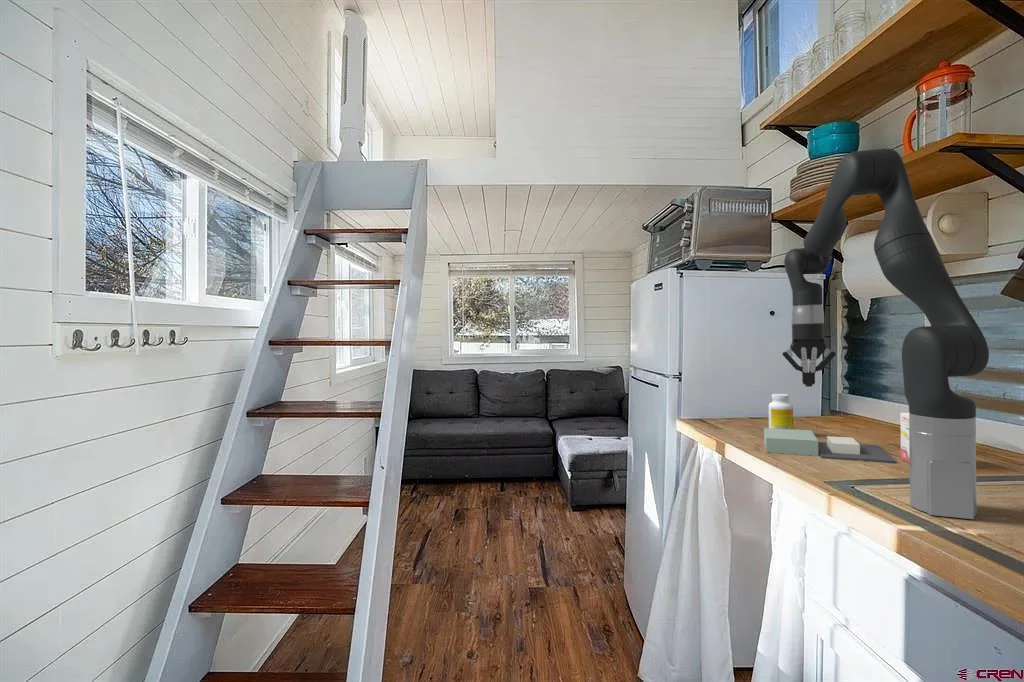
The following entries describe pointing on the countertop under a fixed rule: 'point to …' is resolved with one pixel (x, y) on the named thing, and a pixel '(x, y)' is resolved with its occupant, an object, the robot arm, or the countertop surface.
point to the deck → (790, 441)
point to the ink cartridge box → (904, 436)
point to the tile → (843, 445)
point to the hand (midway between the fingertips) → (808, 386)
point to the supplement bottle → (780, 412)
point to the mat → (866, 453)
